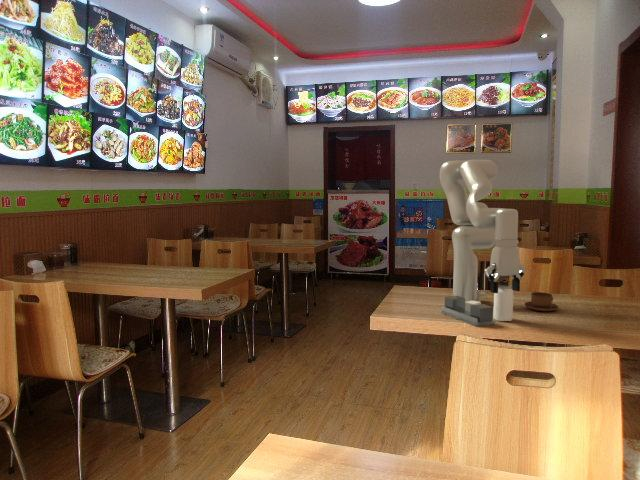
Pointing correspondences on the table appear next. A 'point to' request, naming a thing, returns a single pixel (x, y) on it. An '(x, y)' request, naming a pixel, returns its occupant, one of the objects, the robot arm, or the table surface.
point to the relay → (469, 303)
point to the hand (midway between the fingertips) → (505, 291)
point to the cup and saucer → (541, 302)
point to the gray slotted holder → (475, 317)
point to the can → (503, 303)
